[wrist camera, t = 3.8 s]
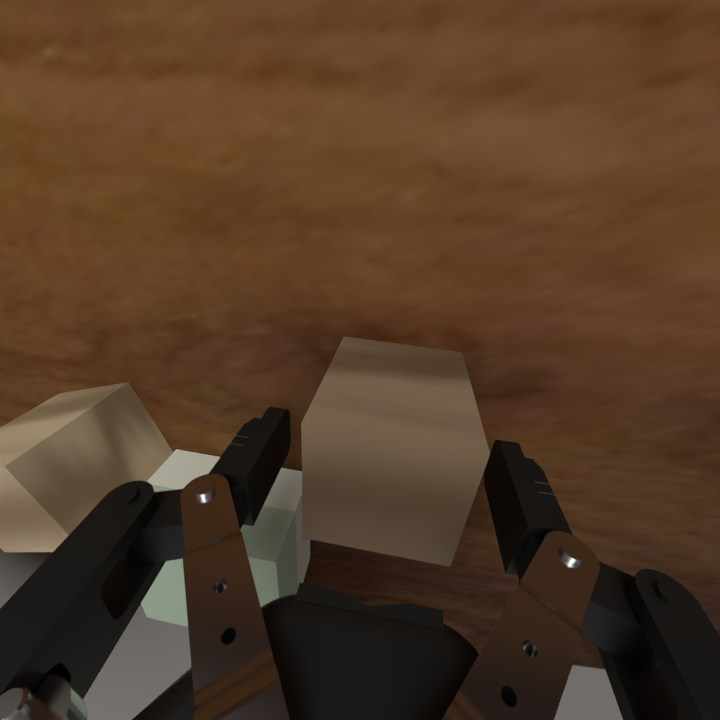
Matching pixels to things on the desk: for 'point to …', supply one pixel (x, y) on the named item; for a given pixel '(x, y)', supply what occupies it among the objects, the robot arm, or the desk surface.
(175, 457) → the brick base
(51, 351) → the desk surface
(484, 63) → the desk surface
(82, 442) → the brick
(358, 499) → the walnut brick
